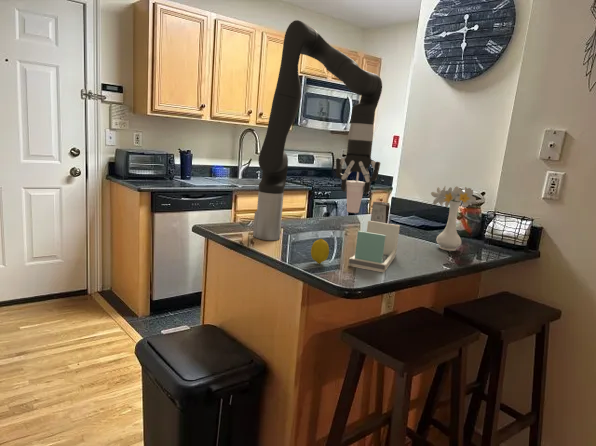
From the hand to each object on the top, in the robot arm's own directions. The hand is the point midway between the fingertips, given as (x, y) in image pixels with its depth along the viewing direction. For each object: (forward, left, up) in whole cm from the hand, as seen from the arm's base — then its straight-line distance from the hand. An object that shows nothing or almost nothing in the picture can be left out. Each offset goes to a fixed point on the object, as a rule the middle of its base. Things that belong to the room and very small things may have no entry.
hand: (354, 192), depth 136 cm
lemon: (-6, -11, -22) cm, 26 cm away
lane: (+8, +5, -22) cm, 24 cm away
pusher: (+8, -5, -21) cm, 23 cm away
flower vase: (+29, +42, -22) cm, 56 cm away
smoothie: (0, 0, -6) cm, 6 cm away
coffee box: (+4, +29, -22) cm, 37 cm away
